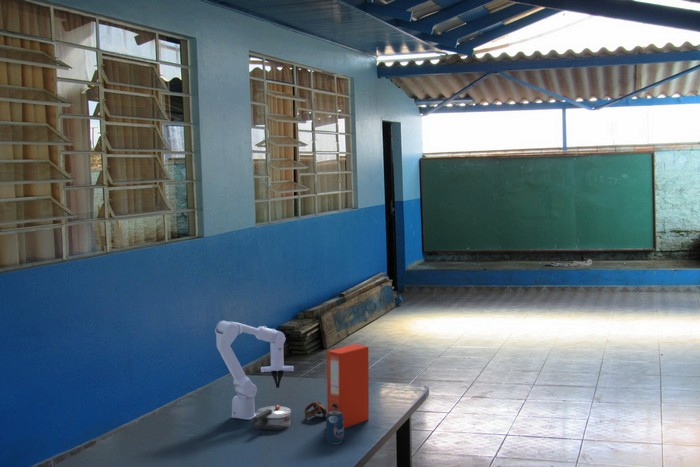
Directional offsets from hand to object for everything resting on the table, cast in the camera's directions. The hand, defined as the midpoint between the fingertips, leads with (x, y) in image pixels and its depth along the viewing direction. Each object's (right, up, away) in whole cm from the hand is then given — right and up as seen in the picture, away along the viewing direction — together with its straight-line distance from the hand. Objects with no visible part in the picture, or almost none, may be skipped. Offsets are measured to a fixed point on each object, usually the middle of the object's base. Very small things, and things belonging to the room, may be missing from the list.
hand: (277, 387), depth 375 cm
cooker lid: (-2, -7, -25) cm, 26 cm away
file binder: (+32, -12, -19) cm, 39 cm away
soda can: (+26, -14, -43) cm, 52 cm away
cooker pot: (-1, -12, -23) cm, 26 cm away
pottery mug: (+18, -12, -12) cm, 24 cm away
